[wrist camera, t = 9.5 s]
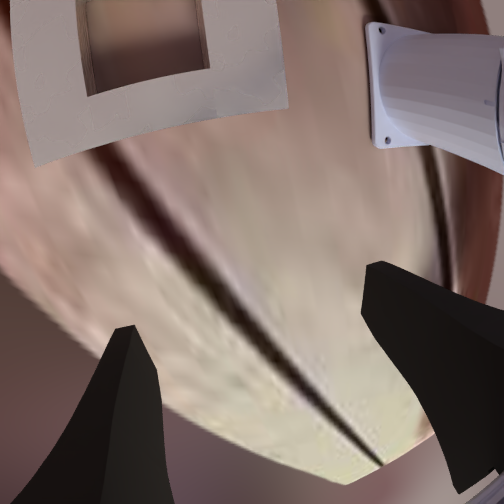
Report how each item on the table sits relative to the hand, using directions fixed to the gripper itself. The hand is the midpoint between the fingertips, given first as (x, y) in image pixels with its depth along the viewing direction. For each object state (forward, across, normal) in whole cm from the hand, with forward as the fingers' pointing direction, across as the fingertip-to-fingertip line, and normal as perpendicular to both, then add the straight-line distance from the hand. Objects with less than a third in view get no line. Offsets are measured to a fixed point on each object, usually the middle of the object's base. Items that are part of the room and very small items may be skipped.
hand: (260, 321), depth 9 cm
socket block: (+9, +2, -10) cm, 14 cm away
